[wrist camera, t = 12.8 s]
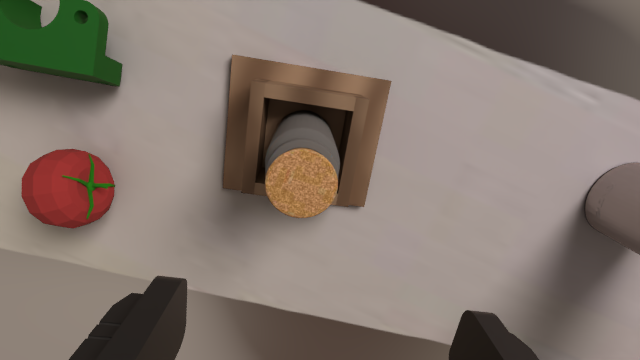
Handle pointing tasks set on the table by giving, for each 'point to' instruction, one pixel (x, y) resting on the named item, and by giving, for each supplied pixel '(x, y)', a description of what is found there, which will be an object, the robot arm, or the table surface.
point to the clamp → (57, 41)
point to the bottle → (302, 165)
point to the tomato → (68, 188)
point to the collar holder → (294, 95)
